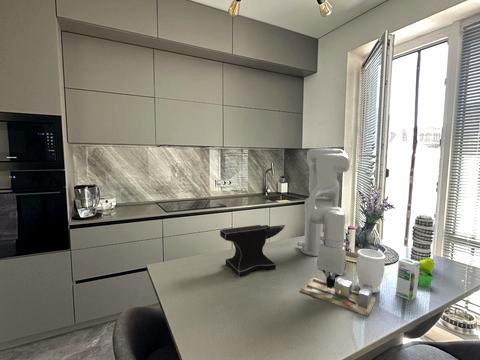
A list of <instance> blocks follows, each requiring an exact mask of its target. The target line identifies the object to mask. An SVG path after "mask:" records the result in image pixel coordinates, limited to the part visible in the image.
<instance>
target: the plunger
mask: <svg viewBox="0 0 480 360" xmlns="http://www.w3.org/2000/svg"><path fill="white" fill-rule="evenodd" d="M352 290H353V281H350V280H348V279H344V278H342V277H338V278H337V280H335V294H336V295H339V296H342V297H344V298H347V299H349V297H350V296H351V294H352Z"/></svg>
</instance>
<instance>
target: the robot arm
mask: <svg viewBox="0 0 480 360" xmlns="http://www.w3.org/2000/svg"><path fill="white" fill-rule="evenodd" d="M306 161H307V164H308V167H309V178H308V179H309V180H308V192H309V196H308V198H306V199H305V201H304V212H305V220H304V221H305V223H304V224H305V225H304V241H297V246H298V247H299V246H300V247H301V249H300V251H301V253H302V254H304V255H307V256H310V257H317V261H316V262H317V263H316V266H317V270H319V271H321V272H322V273H323V274H324V276H325V278H326V280H325V281H326V284H327V288H330V289H332V287H333V286H335V282H336V279H338V278H344V277H345V278H346V275H347V273H346V269H347V253H346V248H345V246H344V242H345V241H344V239H345V227H346V226H345V225H346V215H345V212H344V210H343V209H342V208H341V207H340V206H339V198H340V188H341V187H340V183H339V181H338V173H346V172H348V171H349V170H350V165H351V163H350V159H349V156H348V154H347V153H346V152H345V151H344V150H343V149H341V148H323V147H321V148H320V147H319V148H317V147H315V148H314V147H313V148H310V149H308V150H307V152H306Z"/></svg>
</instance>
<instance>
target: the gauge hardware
mask: <svg viewBox="0 0 480 360" xmlns="http://www.w3.org/2000/svg"><path fill="white" fill-rule="evenodd" d="M313 281H315V282H318V283H321V284H324V285H327V284H326V283H325V282H322V281H319V280H316V279H313ZM307 287H309V288H312V289H313V288H314V289H317V290H319V291H322V292H325V293H328V294H331V295H334V296H336V297H339V298H342V299H345V300H348V301H350V302H353V303H354V304H356V301H353V300H350V299H347V298H344V297H342V296H339V295H336V294H333V293H330V292H327V291H324V290H322V289H319V288H316V287H313V286H310V285H307ZM372 287H373V286H369V285H366V284H364V285H363V286H362V288H360V290H359V291H358V292H359V294H358V293H355V292H352V294H354V295H357V296H359V299H358V306H360V307H363V308H365V309H367V308H368V306H369V304H370V301H371V299H372V297H373V293H372ZM333 288H335V286H333Z"/></svg>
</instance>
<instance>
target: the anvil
mask: <svg viewBox="0 0 480 360" xmlns="http://www.w3.org/2000/svg"><path fill="white" fill-rule="evenodd" d="M285 227H286V224H281V225H271V226H270V225H267V224H264V225H260V224H256V225H250V226H249V225H247V226H241V227H232V228H225V229H220V230H219V236H220V237H221V238H222V239H223V240H224V241H227V242H232V244H233V245H234V249H235V252H234V255H233V256H232V257H230V258H225V265H226V266H227V268H229V269H230V271H231V272H232V273H233V274H234V275H235V276H236V277H237V278H238V279H239V278H245V277H247V276H249V275H251V274H253V273H256V272H270V271H276V270H277V263H276V262H274V261H273V260H271V259H270V258H269V257H268V256H266V255H265V253H264V252H263V251H264V250H263V249H264V246H265V245H266V242H267V240H268V239H271V238H273V237H275V236H277V235H278V234H279V233H281V231H283V229H285Z"/></svg>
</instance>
